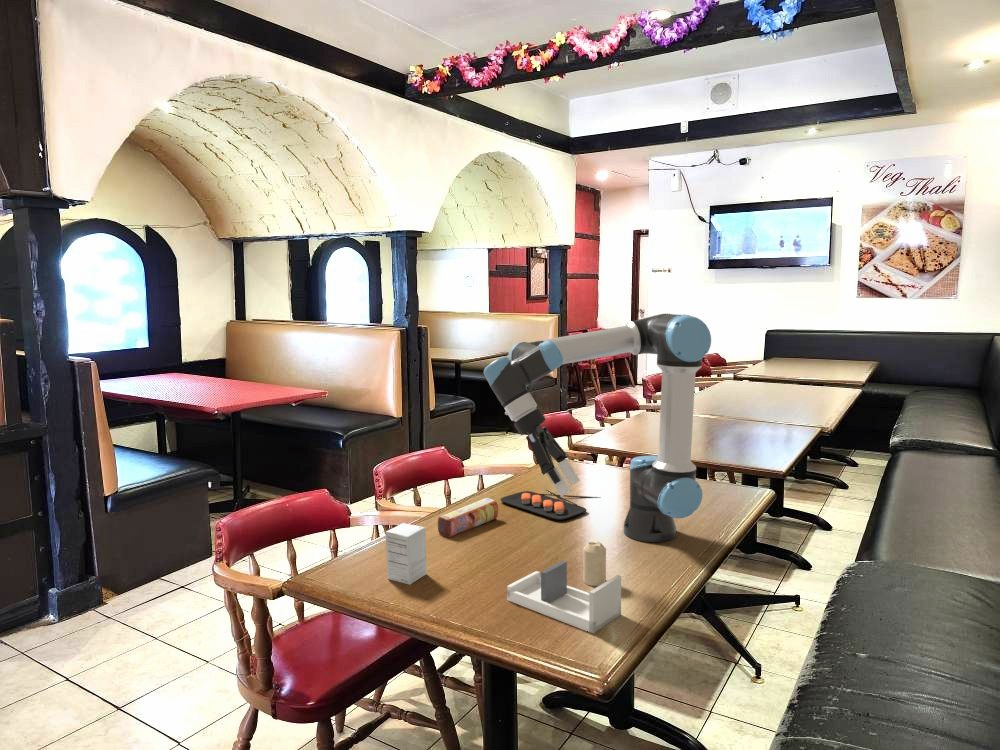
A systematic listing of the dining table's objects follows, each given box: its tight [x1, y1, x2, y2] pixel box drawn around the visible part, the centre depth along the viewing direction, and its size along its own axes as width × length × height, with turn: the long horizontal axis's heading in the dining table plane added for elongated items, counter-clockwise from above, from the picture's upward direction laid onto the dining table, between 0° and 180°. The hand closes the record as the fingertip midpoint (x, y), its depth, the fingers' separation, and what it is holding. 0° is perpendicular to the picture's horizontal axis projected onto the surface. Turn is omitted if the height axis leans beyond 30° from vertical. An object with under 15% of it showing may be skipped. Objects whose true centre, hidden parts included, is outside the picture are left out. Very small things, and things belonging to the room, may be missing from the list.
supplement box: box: [385, 522, 428, 585], centre depth 172 cm, size 7×7×13 cm
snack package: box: [437, 497, 499, 538], centre depth 208 cm, size 21×7×7 cm, turn 138°
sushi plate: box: [499, 489, 601, 521], centre depth 230 cm, size 29×30×4 cm
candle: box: [582, 541, 607, 587], centre depth 168 cm, size 6×6×10 cm
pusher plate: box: [540, 560, 568, 603], centre depth 156 cm, size 8×1×8 cm, turn 138°
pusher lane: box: [506, 570, 622, 634], centre depth 155 cm, size 11×24×9 cm, turn 48°
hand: (570, 488), depth 168 cm, fingers open, 13 cm apart
